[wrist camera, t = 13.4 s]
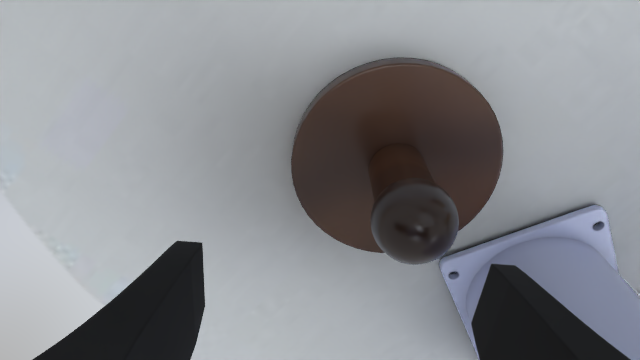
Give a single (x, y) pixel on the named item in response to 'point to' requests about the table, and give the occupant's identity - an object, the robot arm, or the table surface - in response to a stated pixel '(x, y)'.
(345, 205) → the knob on round base
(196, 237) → the table surface
